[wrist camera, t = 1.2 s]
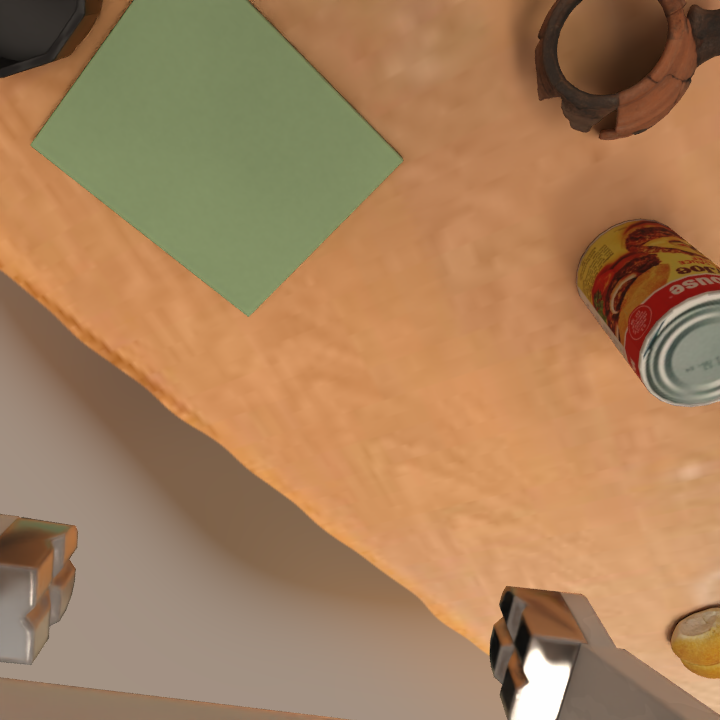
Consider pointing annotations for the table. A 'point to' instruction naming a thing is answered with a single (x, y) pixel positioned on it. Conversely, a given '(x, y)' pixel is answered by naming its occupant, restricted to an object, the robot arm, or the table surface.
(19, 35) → the pan
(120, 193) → the trivet
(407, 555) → the table surface
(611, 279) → the canned food
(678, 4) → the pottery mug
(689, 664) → the bread roll
